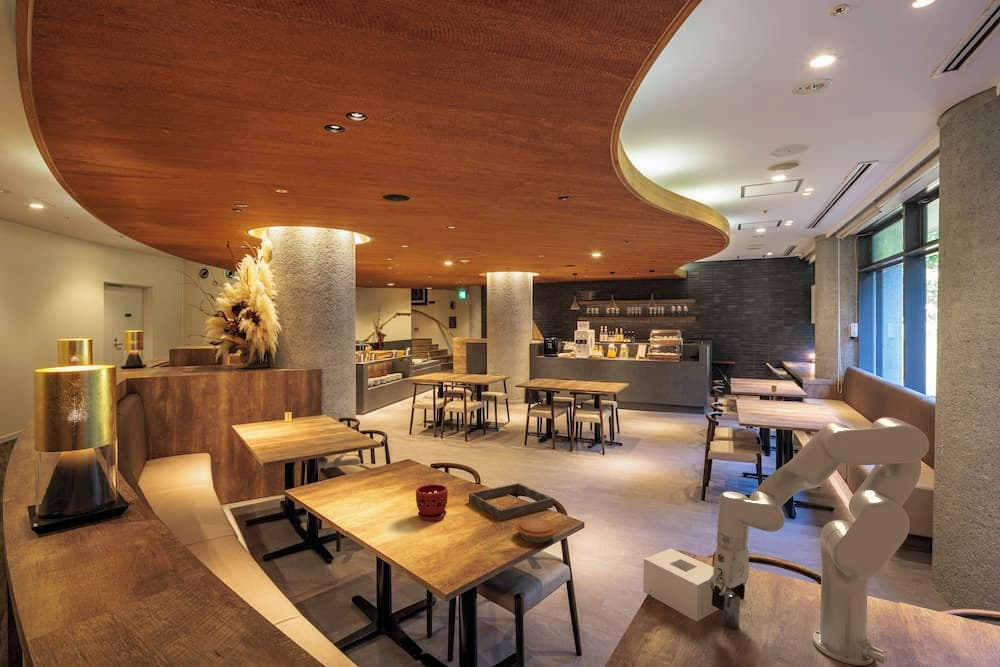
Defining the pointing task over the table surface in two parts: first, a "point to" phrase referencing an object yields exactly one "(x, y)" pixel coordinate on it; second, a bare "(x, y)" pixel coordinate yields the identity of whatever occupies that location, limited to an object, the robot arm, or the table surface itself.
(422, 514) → the plant pot
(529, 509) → the open rectangular frame
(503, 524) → the table surface
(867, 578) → the robot arm
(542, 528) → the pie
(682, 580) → the socket block
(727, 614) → the peg
